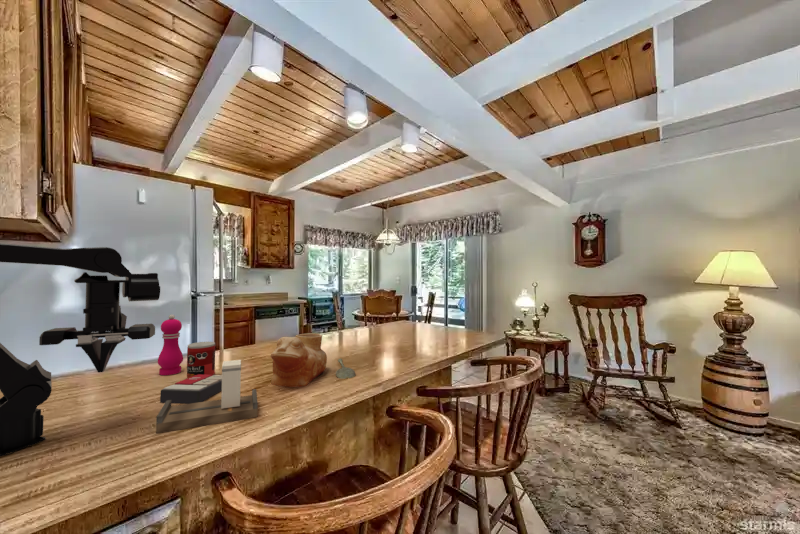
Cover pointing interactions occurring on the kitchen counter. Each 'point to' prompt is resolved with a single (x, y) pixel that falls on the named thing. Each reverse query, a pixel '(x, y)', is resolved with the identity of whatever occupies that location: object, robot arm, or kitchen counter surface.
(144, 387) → the kitchen counter surface
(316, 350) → the ceramic vessel
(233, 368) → the slider knob
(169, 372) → the pepper mill
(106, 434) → the kitchen counter surface
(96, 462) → the kitchen counter surface
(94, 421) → the kitchen counter surface
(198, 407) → the panel
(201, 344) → the canned food
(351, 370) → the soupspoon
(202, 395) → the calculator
